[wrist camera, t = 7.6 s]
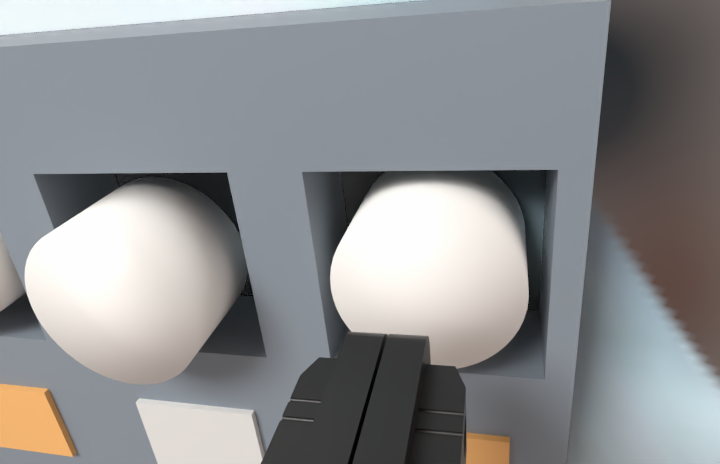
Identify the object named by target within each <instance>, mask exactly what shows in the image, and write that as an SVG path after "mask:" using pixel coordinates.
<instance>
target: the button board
mask: <svg viewBox="0 0 720 464" xmlns="http://www.w3.org/2000/svg"><path fill="white" fill-rule="evenodd" d="M610 7H611V0H422V1H410V2H398V3H386V4H374V5H362V6H350V7H338V8H326V9H313V10H301V11H289V12H277V13H265V14H253V15H241V16H229V17H217V18H205V19H193V20H181V21H169V22H157V23H145V24H132V25H120V26H108V27H96V28H84V29H72V30H60V31H48V32H36V33H24V34H12V35H0V233H1V235H2V238H3V240H4V242H5V245H6V247H7V249H8V252H9V254H10V256H11V259H12V261H13V263H14V266H15V268H16V270H17V273H18V275H19V277H20V280H21V282H22V284H23V287H24V289H25V291H26V287H25V278H24V276H25V265H26V261H27V258H28V255H29V253H30V251H31V249H32V248H33V247H34V245H35V244H36V243H37V242H38V241H39V240H40V239H41V238H42V237H44V236H45V235H47V234H48V233H50V232H51V231H53V230H54V229H56V228H58V227H59V226H61V225H62V224H64V223H65V222H67V221H68V220H70V219H71V218H73V217H74V216H76V215H77V214H79V213H81V212H82V211H84V210H85V209H87V208H88V207H90V206H91V205H93V204H94V203H96V202H97V201H99V200H101V199H102V198H104V197H105V196H107V195H108V194H110V193H111V192H113V191H114V190H116V189H117V188H119V186H118V183H117V180H116V176H115V173H220V172H227V175H228V180H229V184H230V189H231V194H232V198H233V203H234V208H235V212H236V217H237V222H238V226H239V231H240V236H241V240H242V245H243V249H244V254H245V259H246V263H247V268H248V273H249V277H250V282H251V287H252V291H253V296H241V295H240V296H239V297H238V299H237V300H236V301H235V303H234V304H233V305H232V307H231V308H230V310H229V311H228V312H227V314H226V315H225V316H224V318H223V319H222V320H221V322H220V323H219V324H218V326H217V327H216V328H215V330H214V331H213V332H212V334H211V335H210V337H209V338H208V339H207V341H206V342H205V343H204V345H203V346H202V347H201V349H200V350H199V351H198V353H197V354H196V355H195V357H194V358H193V359H192V361H191V362H190V363H189V365H188V366H187V367H186V369H185V370H184V371H182V372H181V373H180V374H179V375H177V376H176V377H174V378H172V379H170V380H167V381H165V382H161V383H157V384H148V385H141V384H130V383H125V382H121V381H117V380H113V379H111V378H108V377H105V376H103V375H101V374H99V373H96V372H94V371H92V370H91V369H89V368H87V367H85V366H84V365H82V364H81V363H79V362H78V361H76V360H75V359H74V358H72V357H71V356H70V355H69V354H67V353H66V352H65V351H64V350H63V349H62V348H61V347H60V346H59V345H58V344H57V343H56V342H55V341H54V340H53V339H52V338H51V337H50V336H49V334H48V333H47V332H46V330H45V329H44V328H43V326H42V325H41V323H40V322H39V320H38V318H37V317H36V315H35V313H34V311H33V309H32V307H31V304H30V301H29V299H28V296H27V291H26V293H25V294H24V295H22V296H21V297H20V298H18V299H17V300H16V301H14V302H13V303H12V304H10V305H9V306H7V307H6V308H5V309H3V310H2V311H1V312H0V464H261V462H262V460H263V458H264V455H265V453H266V451H267V449H268V446H269V444H270V442H271V440H272V437H273V435H274V433H275V431H276V428H277V426H278V424H279V422H280V420H282V415H283V413H284V410H285V408H286V406H287V404H288V402H290V397H291V395H292V393H293V390H294V388H295V386H296V384H297V381H298V379H299V377H300V375H301V374H302V373H303V372H304V371H305V370H306V369H307V368H308V367H309V366H310V365H311V364H313V363H314V362H315V361H316V360H317V359H318V358H319V357H324V358H337V357H338V354H339V352H340V349H341V346H342V344H343V341H344V338H345V336H346V334H347V333H348V332H351V330H350V329H349V328H348V327H347V325H346V324H345V323H344V321H343V320H342V318H341V316H340V314H339V312H338V310H337V308H336V306H335V303H334V300H333V296H332V292H331V284H330V272H331V265H332V261H333V257H334V254H335V252H336V249H337V247H338V245H339V243H340V242H341V240H342V238H343V236H344V234H345V232H346V231H347V229H348V227H347V219H346V210H345V202H344V194H343V185H342V177H341V172H342V171H465V170H547V176H546V194H545V212H544V230H543V248H542V266H541V284H540V302H539V311H538V310H527V311H526V315H525V318H524V320H523V323H522V325H521V327H520V329H519V330H518V332H517V333H516V335H515V336H514V337H513V339H512V340H511V341H510V342H509V343H508V344H507V345H506V346H505V347H504V348H502V349H501V350H500V351H499V352H497V353H496V354H494V355H493V356H491V357H489V358H488V359H486V360H483V361H481V362H479V363H477V364H474V365H470V366H467V367H463V368H457V371H458V373H459V375H460V377H461V379H462V381H463V383H464V385H465V387H466V432H467V454H466V464H567V453H568V443H569V432H570V422H571V412H572V401H573V391H574V381H575V370H576V360H577V349H578V339H579V329H580V318H581V308H582V298H583V287H584V277H585V266H586V256H587V246H588V235H589V225H590V215H591V204H592V194H593V184H594V173H595V162H596V152H597V141H598V132H599V121H600V111H601V101H602V89H603V80H604V69H605V58H606V48H607V38H608V28H609V18H610Z"/></svg>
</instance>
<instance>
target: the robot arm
mask: <svg viewBox="0 0 720 464" xmlns="http://www.w3.org/2000/svg"><path fill="white" fill-rule="evenodd" d="M466 454H467V432H466V387H465V385H464V383H463V381H462V379H461V377H460V375H459V373H458V371H457V369H456V367H455V366H444V365H431V359H430V342H429V337H428V336H422V335H404V334H389V335H387V334H383V333H365V332H348V333H347V334H346V336H345V338H344V341H343V344H342V346H341V349H340V352H339V354H338V357H337V358H324V357H319V358H318V359H317V360H316V361H315V362H314V363H313V364H311V365H310V366H309V367H308V368H307V369H306V370H305V371H304V372H303V373H302V374H301V375H300V377H299V379H298V381H297V384H296V386H295V388H294V390H293V393H292V395H291V397H290V402H288V404H287V406H286V408H285V410H284V413H283V415H282V420H280V422H279V424H278V426H277V428H276V431H275V433H274V435H273V437H272V440H271V442H270V444H269V446H268V449H267V451H266V453H265V455H264V458H263V460H262V462H261V464H466Z"/></svg>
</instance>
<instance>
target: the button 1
mask: <svg viewBox="0 0 720 464" xmlns="http://www.w3.org/2000/svg"><path fill="white" fill-rule="evenodd" d="M25 293H26V291H25V289H24V287H23V284H22V282H21V280H20V277H19V275H18V273H17V270H16V268H15V266H14V263H13V261H12V259H11V256H10V254H9V252H8V249H7V247H6V245H5V242H4V240H3V238H2V235H1V233H0V312H1V311H2V310H3V309H5V308H6V307H7V306H9V305H10V304H12V303H13V302H14V301H16V300H17V299H18V298H20V297H21V296H22V295H24V294H25Z"/></svg>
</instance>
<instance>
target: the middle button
mask: <svg viewBox="0 0 720 464" xmlns="http://www.w3.org/2000/svg"><path fill="white" fill-rule="evenodd" d="M247 273H248V268H247V263H246V259H245V254H244V249H243V245H242V240H241V237H240V234H239V233H238V231H237V229H236V227H235V225H234V224H233V223H232V221H231V220H230V218H229V217H228V216H227V215H226V214H225V212H224V211H223V210H222V209H221V208H220V207H219V206H218V205H217V204H216V203H215V202H213V201H212V200H211V199H210V198H208V197H207V196H206V195H204V194H203V193H201V192H200V191H198V190H196V189H195V188H193V187H191V186H188V185H186V184H184V183H181V182H178V181H175V180H172V179H167V178H160V177H146V178H140V179H135V180H132V181H130V182H127V183H125V184H124V185H122V186H121V187H119V188H117V189H116V190H114V191H113V192H111V193H110V194H108V195H107V196H105V197H104V198H102V199H101V200H99V201H97V202H96V203H94V204H93V205H91V206H90V207H88V208H87V209H85V210H84V211H82V212H81V213H79V214H77V215H76V216H74V217H73V218H71V219H70V220H68V221H67V222H65V223H64V224H62V225H61V226H59V227H58V228H56V229H54V230H53V231H51V232H50V233H48V234H47V235H45V236H44V237H42V238H41V239H40V240H39V241H38V242H37V243H36V244H35V245H34V247H33V248H32V249H31V251H30V253H29V255H28V258H27V261H26V265H25V276H24V278H25V287H26V291H27V296H28V299H29V301H30V304H31V307H32V309H33V311H34V313H35V315H36V317H37V318H38V320H39V322H40V323H41V325H42V326H43V328H44V329H45V330H46V332H47V333H48V334H49V336H50V337H51V338H52V339H53V340H54V341H55V342H56V343H57V344H58V345H59V346H60V347H61V348H62V349H63V350H64V351H65V352H66V353H67V354H69V355H70V356H71V357H72V358H74V359H75V360H76V361H78V362H79V363H81V364H82V365H84V366H85V367H87V368H89V369H91V370H92V371H94V372H96V373H99V374H101V375H103V376H105V377H108V378H111V379H113V380H117V381H121V382H125V383H130V384H141V385H148V384H157V383H161V382H165V381H167V380H170V379H172V378H174V377H176V376H177V375H179V374H180V373H181V372H182V371H184V370H185V369H186V367H187V366H188V365H189V363H190V362H191V361H192V359H193V358H194V357H195V355H196V354H197V353H198V351H199V350H200V349H201V347H202V346H203V345H204V343H205V342H206V341H207V339H208V338H209V337H210V335H211V334H212V332H213V331H214V330H215V328H216V327H217V326H218V324H219V323H220V322H221V320H222V319H223V318H224V316H225V315H226V314H227V312H228V311H229V310H230V308H231V307H232V305H233V304H234V303H235V301H236V300H237V299H238V297H239V296H240V295H241V293H242V291H243V289H244V286H245V283H246V280H247Z"/></svg>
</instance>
